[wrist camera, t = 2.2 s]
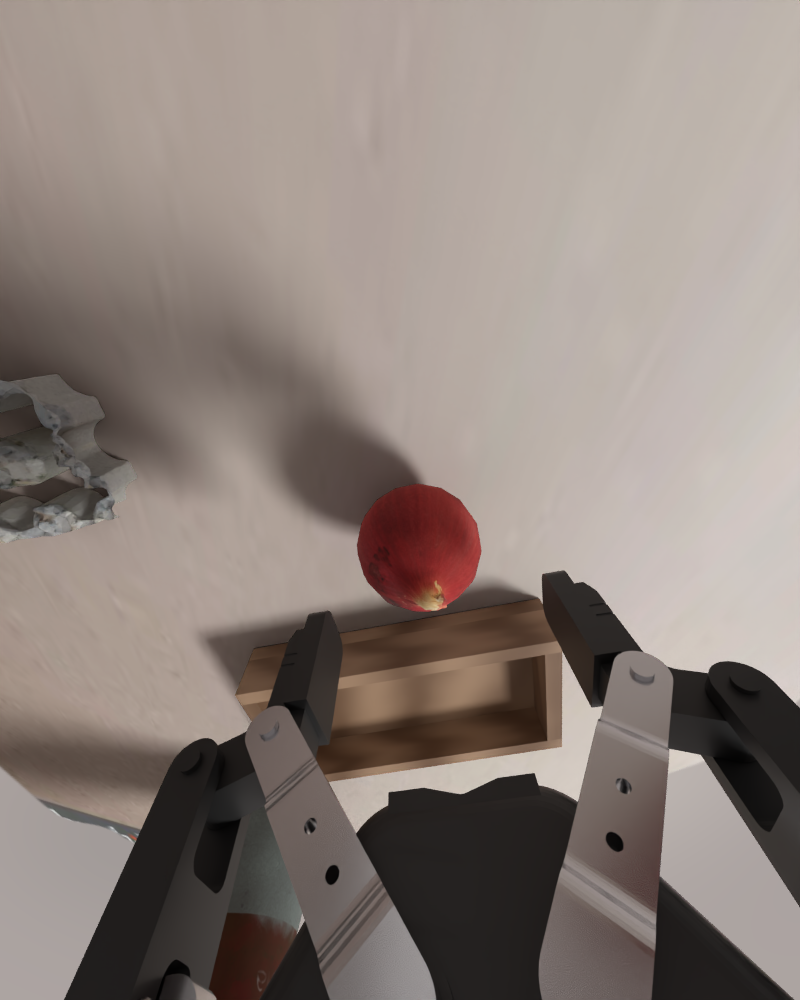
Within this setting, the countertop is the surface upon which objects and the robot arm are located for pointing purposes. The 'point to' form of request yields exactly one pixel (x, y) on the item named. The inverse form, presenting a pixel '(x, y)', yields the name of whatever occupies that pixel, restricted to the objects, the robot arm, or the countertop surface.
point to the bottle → (256, 917)
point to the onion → (419, 547)
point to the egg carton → (56, 461)
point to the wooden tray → (434, 691)
